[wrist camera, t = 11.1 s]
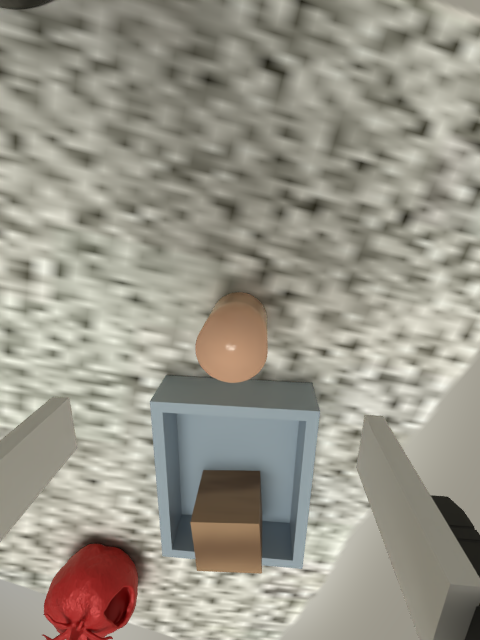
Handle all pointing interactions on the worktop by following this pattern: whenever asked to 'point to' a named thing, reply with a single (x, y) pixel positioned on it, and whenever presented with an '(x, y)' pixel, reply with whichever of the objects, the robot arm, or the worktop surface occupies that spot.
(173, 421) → the tote
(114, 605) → the pomegranate
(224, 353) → the terracotta cylinder
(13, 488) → the robot arm
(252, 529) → the walnut cube
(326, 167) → the worktop surface
